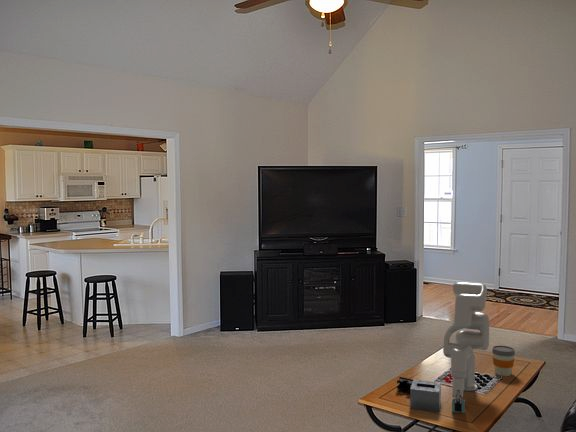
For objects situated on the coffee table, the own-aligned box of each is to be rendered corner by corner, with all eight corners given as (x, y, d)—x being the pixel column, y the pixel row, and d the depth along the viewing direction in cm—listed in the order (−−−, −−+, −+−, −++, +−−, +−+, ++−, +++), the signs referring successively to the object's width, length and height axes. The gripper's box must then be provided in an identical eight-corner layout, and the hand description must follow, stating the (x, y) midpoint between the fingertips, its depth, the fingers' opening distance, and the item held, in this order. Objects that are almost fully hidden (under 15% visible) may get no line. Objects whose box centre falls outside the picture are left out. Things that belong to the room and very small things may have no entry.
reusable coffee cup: (492, 368, 325) (493, 344, 325) (515, 371, 320) (515, 347, 319) (490, 375, 314) (491, 350, 313) (513, 378, 309) (514, 352, 308)
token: (452, 409, 265) (452, 398, 265) (464, 411, 263) (464, 399, 263) (451, 411, 264) (452, 399, 263) (464, 413, 262) (464, 401, 261)
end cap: (418, 391, 290) (418, 379, 290) (413, 395, 284) (413, 382, 284) (401, 387, 296) (401, 375, 296) (396, 391, 290) (396, 378, 290)
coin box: (413, 397, 280) (413, 379, 280) (440, 401, 276) (440, 382, 275) (410, 408, 267) (410, 388, 267) (439, 412, 263) (439, 392, 262)
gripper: (451, 367, 272) (451, 400, 272) (450, 378, 255) (449, 413, 256) (466, 368, 269) (466, 401, 270) (466, 380, 253) (466, 415, 254)
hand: (458, 407), depth 263 cm, fingers open, 9 cm apart
